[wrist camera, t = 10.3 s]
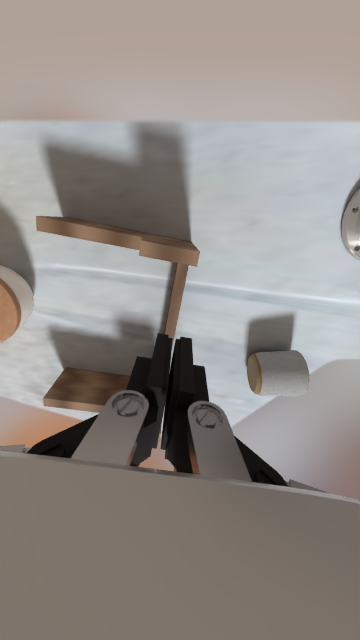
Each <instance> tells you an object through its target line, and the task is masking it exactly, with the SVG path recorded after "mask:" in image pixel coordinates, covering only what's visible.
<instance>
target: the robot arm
mask: <svg viewBox="0 0 360 640" xmlns="http://www.w3.org/2000/svg"><path fill="white" fill-rule="evenodd" d="M341 231H342V239H343V243H344V245H345V247H346V249H347V251H348V252H349V253H350V254H351V255H352V256H354V257H355V258H357V259H359V260H360V188H359V189H358V190H357V191H356V192H355V194H354V195H353V197H352V198H351V200H350V201H349V203H348V206H347V208H346V210H345V213H344V216H343V220H342V228H341ZM168 337H169V335H167V334H160V333H158V335H157V340H156V344H155V348H154V353H153V357H152V358H145V357H139V356H138V357H137V359H136V362H135V365H134V368H133V371H132V374H131V377H130V380H129V382H128V385H127V388H126V390H124V391H120V392H117V393H115V394H114V395H112V396H111V397H110V399H109V400H108V401H107V403H106V404H105V406H104V408H103V409H102V411H101V412H100V414H98V415H96V416H94V417H91V418H89V419H87V420H85V421H83V422H81V423H79V424H76V425H74V426H73V427H70V428H68V429H66V430H64V431H61V432H59V433H57V434H55V435H53V436H51V437H49V438H47V439H44V440H42V441H41V442H39V443H37V444H36V445H34V446H33V447H32V448H25V445H11V446H0V640H360V500H357V499H353V498H349V497H344V496H339V495H334V494H330V493H327V492H325V491H322V490H319V489H316V488H313V487H310V486H308V485H305V484H302V483H299V482H296V481H293V480H291V479H290V480H289V482H286V481H284V479H283V478H282V477H281V475H280V474H279V473H278V472H277V471H276V470H274V469H273V468H272V467H271V466H269V465H268V464H267V463H266V462H265V461H264V460H262V459H261V458H260V457H259V456H258V455H257V454H255V453H254V452H253V451H252V450H251V449H249V448H248V447H247V446H246V445H245V444H243V443H242V442H241V441H240V440H239V439H237V438H236V437H235V436H234V435H233V432H232V429H231V427H230V424H229V422H228V419H227V416H226V415H225V413H224V411H223V410H222V409H221V408H220V407H218V406H217V405H215V404H213V403H211V402H209V396H208V389H207V382H206V374H205V368H204V366H197V365H193V353H192V338H185V337H180V339H176V341H175V346H174V352H173V357H172V362H171V368H170V360H171V350H172V340H173V338H168ZM169 371H170V373H169ZM165 401H166V402H165ZM164 407H165V411H164ZM163 412H164V421H163V431H162V442H161V449H163V450H166V451H165V459H168V460H169V461H170V462H171V463H172V465H173V466H174V472H173V471H166V470H158V469H150V468H142V467H139V466H140V463H141V462H143V461H144V460H146V459H147V458H148V457H150V455H151V449H152V448H157V443H158V438H159V433H160V428H161V423H162V417H163Z"/></svg>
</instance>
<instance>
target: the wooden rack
mask: <svg viewBox="0 0 360 640" xmlns="http://www.w3.org/2000/svg"><path fill="white" fill-rule="evenodd" d="M36 226H37V231H42V232H47V233H53V234H58V235H63V236H68V237H73V238H79V239H84V240H89V241H94V242H100V243H105V244H110V245H115V246H120V247H126V248H131V249H136V250H140V252H139V256H144V257H149V258H154V259H160V260H165V261H170V262H176V263H177V267H176V272H175V278H174V283H173V289H172V294H171V299H170V305H169V310H168V316H167V321H166V327H165V332H164V334H167V335H169V337H168V338H173V340H174V335H175V330H176V325H177V320H178V315H179V310H180V305H181V300H182V295H183V290H184V285H185V281H186V276H187V271H188V266H189V265H191V266H197V263H198V259H199V254H200V251H199V250H198V249H197V248H196V247H195V246H194V244H193V243H192V242H189V241H184V240H179V239H174V238H169V237H164V236H159V235H154V234H149V233H144V232H139V231H134V230H129V229H124V228H119V227H114V226H109V225H104V224H99V223H94V222H89V221H84V220H79V219H74V218H69V217H49V216H36ZM173 340H172V345H173ZM130 377H131V376H123V375H116V374H109V373H101V372H94V371H87V370H80V369H72V368H65V369H64V370H63V372H62V373H61V375H60V376H59V377H58V379H57V380H56V381H55V383H54V384H53V386H52V387H51V388H50V390H49V391H48V392H47V394H46V395H45V397H44V398H43V402H44V406H49V407H57V408H66V409H74V410H82V411H91V412H99V413H100V412H101V411H102V409H103V408H104V406H105V404H106V403H107V401H108V400H109V399H110V397H111V396H112V395H114V394H115V393H117V392H120V391H124V390H126V388H127V385H128V382H129V380H130ZM160 435H161V428H160V433H159V438H158V441H159V439H160Z"/></svg>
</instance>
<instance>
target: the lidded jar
mask: <svg viewBox="0 0 360 640" xmlns="http://www.w3.org/2000/svg"><path fill="white" fill-rule="evenodd" d="M33 306H34V298H33V293H32V290H31V288H30V286H29V285H28V283H27V282H26V281H25V280H24V279H23V278H22V277H21V276H20V275H19V274H17V273H16V272H14V271H13V270H11V269H9V268H6V267H4V266H1V265H0V342H3V341H5V340H6V339H8V338H9V337H11V336H12V335H13V334H14V333H15V332H16V331H17V330H19V329H20V328H21V327H22V326H23V325H24V324H25V323H26V321H27V320H28V318H29V317H30V315H31V313H32V310H33Z"/></svg>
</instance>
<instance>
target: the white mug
mask: <svg viewBox="0 0 360 640" xmlns="http://www.w3.org/2000/svg"><path fill="white" fill-rule="evenodd" d="M247 375H248V381H249V385H250V388H251V390H252V391H253V392H254V393H255V394H257V395H261V396H303V395H304V394H306V392H307V390H308V386H309V371H308V367H307V363H306V361H305V359H304V357H303V356H302V354H301V353H299V352H298V351H295V350H291V351H273V352H258V353H254V354H251V355H250V357H249V358H248V362H247Z"/></svg>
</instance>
